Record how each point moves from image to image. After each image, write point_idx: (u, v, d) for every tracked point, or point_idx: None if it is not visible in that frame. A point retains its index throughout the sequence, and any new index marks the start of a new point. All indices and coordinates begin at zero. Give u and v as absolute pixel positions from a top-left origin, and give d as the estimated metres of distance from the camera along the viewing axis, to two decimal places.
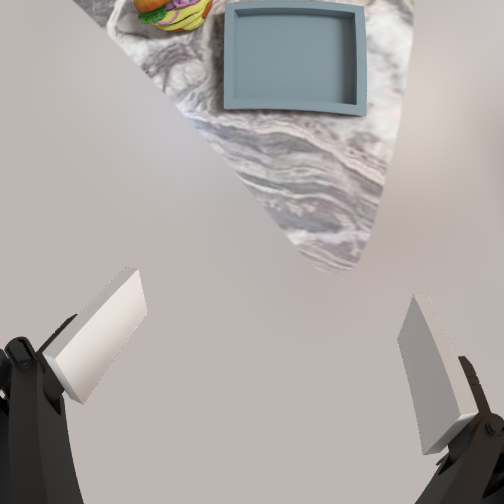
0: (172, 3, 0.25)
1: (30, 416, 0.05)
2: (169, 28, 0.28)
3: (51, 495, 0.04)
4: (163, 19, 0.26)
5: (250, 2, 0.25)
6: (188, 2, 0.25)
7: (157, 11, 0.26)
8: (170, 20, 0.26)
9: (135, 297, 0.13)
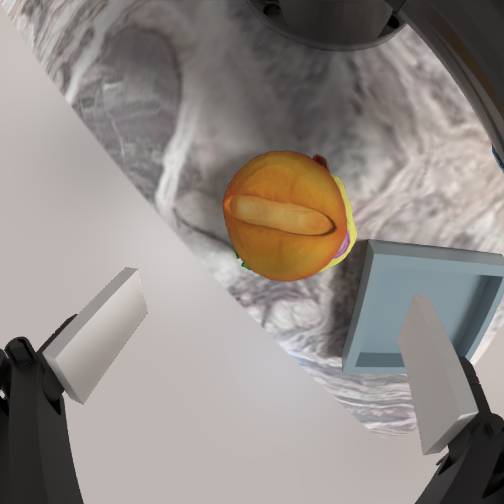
0: None
1: (30, 416, 0.05)
2: None
3: (51, 495, 0.04)
4: None
5: (406, 259, 0.23)
6: None
7: None
8: None
9: (135, 297, 0.13)
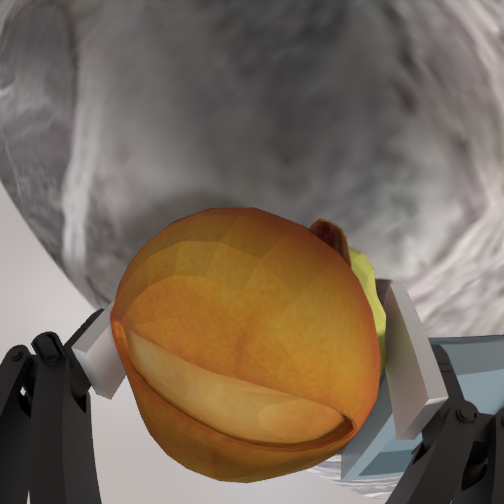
0: None
1: (55, 414, 0.06)
2: None
3: (70, 497, 0.04)
4: None
5: (461, 377, 0.11)
6: None
7: None
8: None
9: None
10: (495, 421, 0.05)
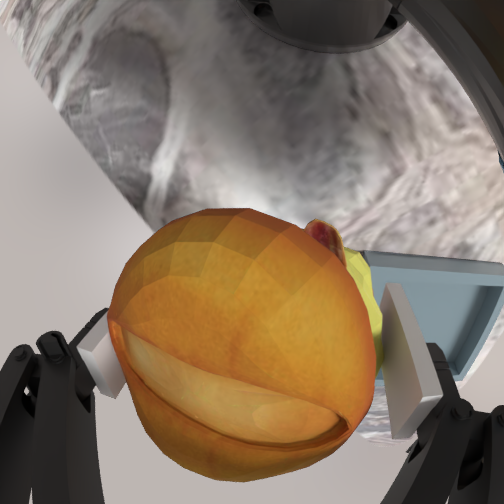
0: None
1: (59, 414, 0.06)
2: None
3: (74, 498, 0.04)
4: None
5: (404, 271, 0.22)
6: None
7: None
8: None
9: None
10: (491, 420, 0.05)
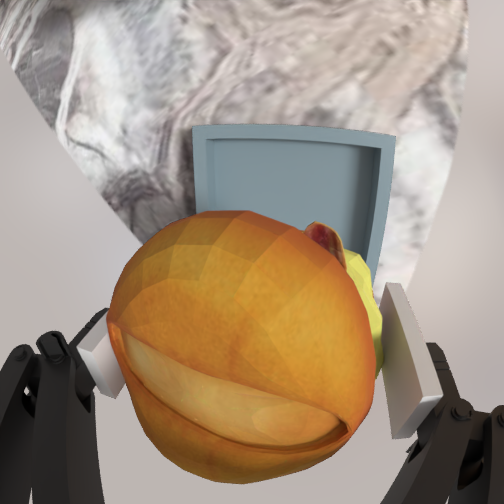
0: None
1: (59, 414, 0.06)
2: None
3: (73, 498, 0.04)
4: None
5: (227, 127, 0.22)
6: None
7: None
8: None
9: None
10: (491, 420, 0.05)
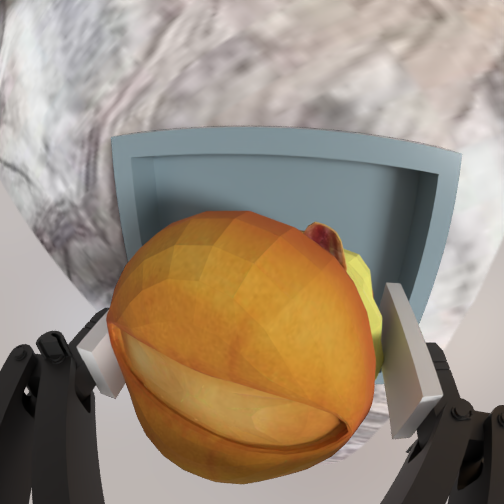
0: None
1: (59, 414, 0.06)
2: None
3: (73, 498, 0.04)
4: None
5: (163, 135, 0.12)
6: None
7: None
8: None
9: None
10: (491, 420, 0.05)
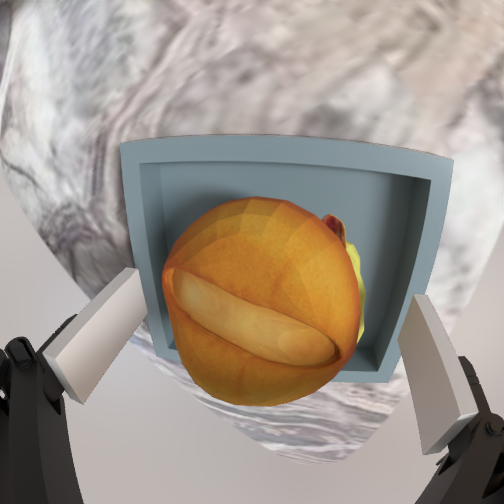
0: None
1: (31, 415, 0.05)
2: None
3: (51, 495, 0.04)
4: None
5: (171, 143, 0.13)
6: None
7: None
8: None
9: (135, 297, 0.13)
10: None
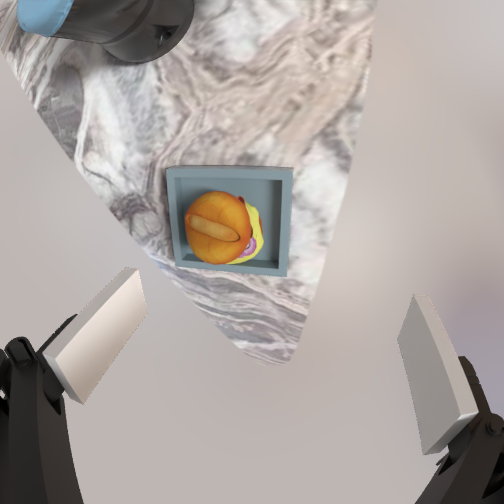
0: None
1: (31, 415, 0.05)
2: None
3: (51, 495, 0.04)
4: None
5: (186, 170, 0.37)
6: None
7: None
8: None
9: (135, 297, 0.13)
10: None
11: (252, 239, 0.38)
